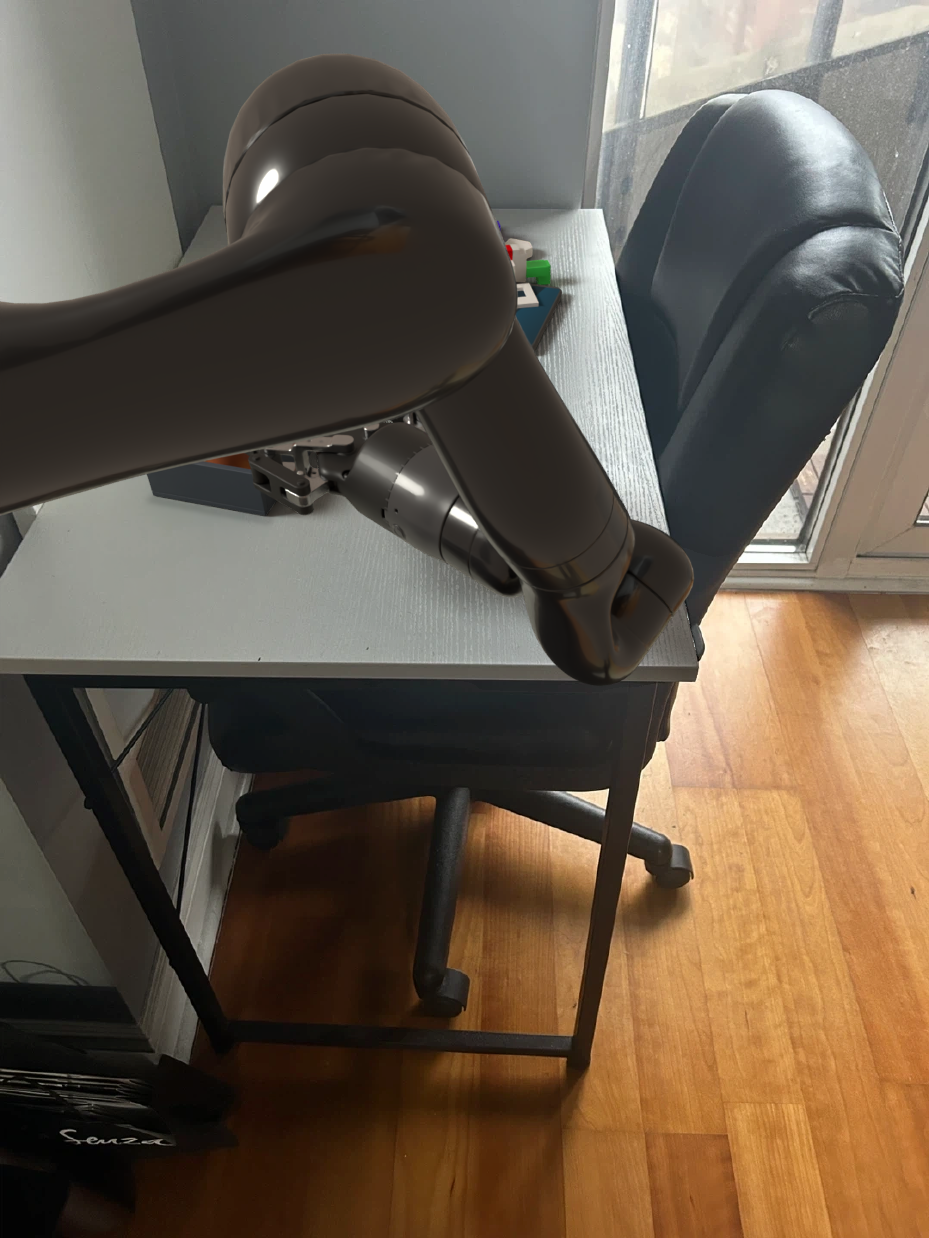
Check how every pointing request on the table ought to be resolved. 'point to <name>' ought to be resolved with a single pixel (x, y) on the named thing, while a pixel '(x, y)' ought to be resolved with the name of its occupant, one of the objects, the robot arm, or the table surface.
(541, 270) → the building block set
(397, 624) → the table surface
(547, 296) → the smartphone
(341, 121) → the robot arm
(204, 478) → the gray storage bin
